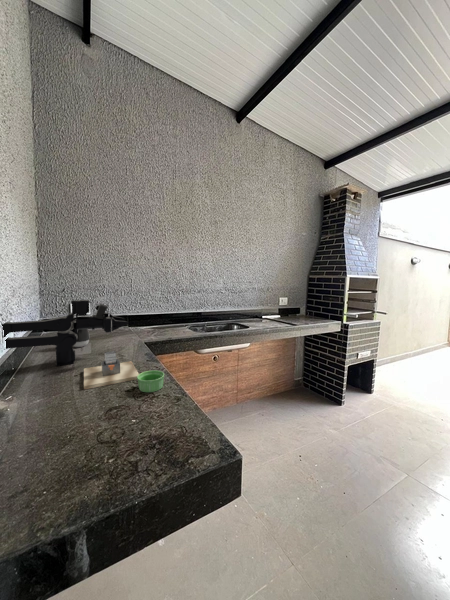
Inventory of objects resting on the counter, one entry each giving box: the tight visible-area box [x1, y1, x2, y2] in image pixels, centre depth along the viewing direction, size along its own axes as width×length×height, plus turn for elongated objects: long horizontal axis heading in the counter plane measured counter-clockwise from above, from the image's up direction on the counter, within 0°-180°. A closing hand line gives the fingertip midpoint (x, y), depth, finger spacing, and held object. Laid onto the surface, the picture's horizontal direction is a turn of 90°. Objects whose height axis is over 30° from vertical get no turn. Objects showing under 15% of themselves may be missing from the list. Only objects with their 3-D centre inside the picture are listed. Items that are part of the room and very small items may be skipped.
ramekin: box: [136, 369, 165, 393], centre depth 82 cm, size 9×9×4 cm
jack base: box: [83, 358, 140, 390], centre depth 92 cm, size 18×18×5 cm
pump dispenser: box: [68, 318, 91, 348], centre depth 130 cm, size 10×10×15 cm
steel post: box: [104, 350, 117, 365], centre depth 92 cm, size 4×4×7 cm
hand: (126, 321), depth 116 cm, fingers open, 9 cm apart
